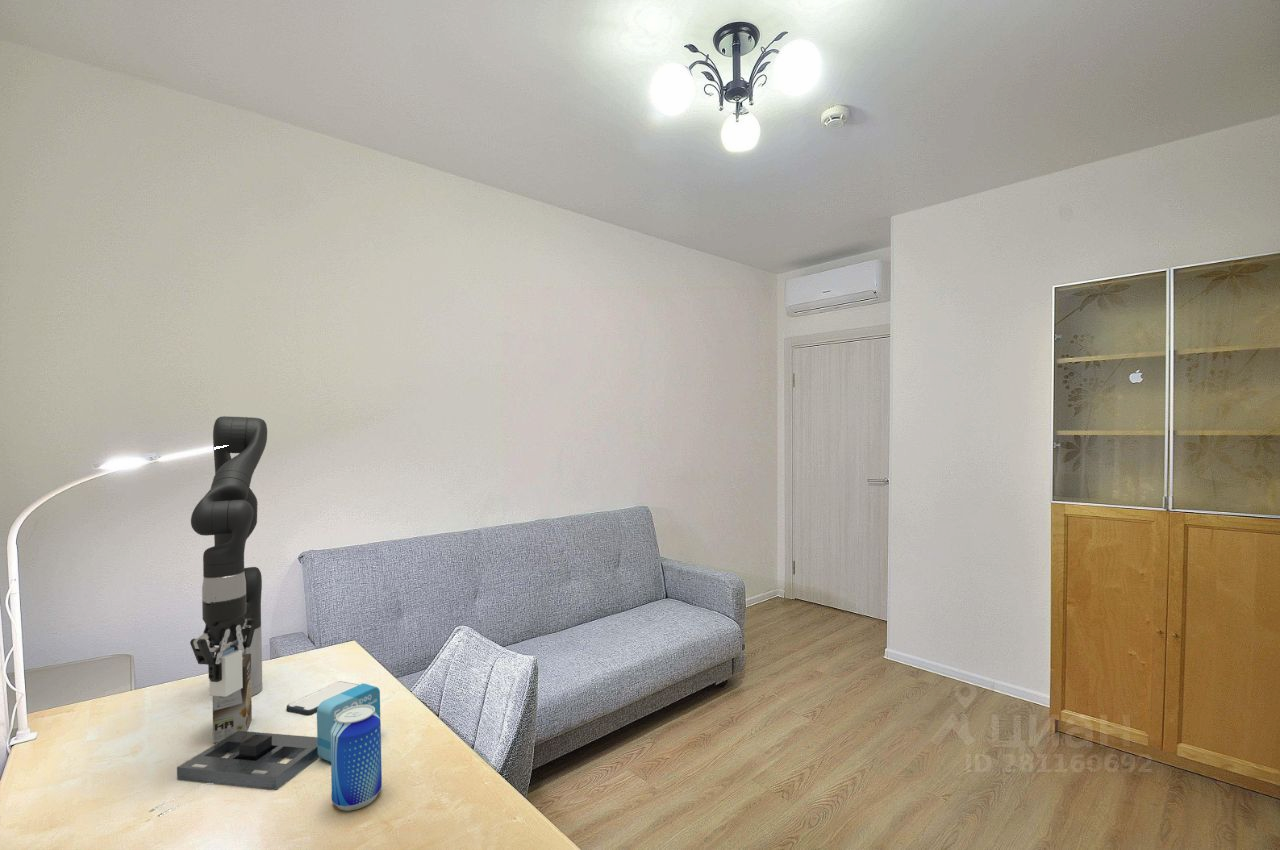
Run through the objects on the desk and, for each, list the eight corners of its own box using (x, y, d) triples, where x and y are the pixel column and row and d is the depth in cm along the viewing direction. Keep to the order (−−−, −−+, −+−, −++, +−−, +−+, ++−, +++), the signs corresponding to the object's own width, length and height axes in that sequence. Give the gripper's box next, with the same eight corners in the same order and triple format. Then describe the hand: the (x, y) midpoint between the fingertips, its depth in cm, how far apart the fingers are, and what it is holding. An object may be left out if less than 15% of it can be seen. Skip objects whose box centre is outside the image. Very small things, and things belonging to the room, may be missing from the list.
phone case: (338, 686, 157) (283, 712, 142) (338, 680, 157) (283, 705, 142) (362, 690, 154) (309, 718, 139) (362, 684, 154) (309, 711, 139)
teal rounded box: (330, 766, 117) (329, 708, 117) (317, 760, 119) (316, 703, 120) (381, 738, 128) (380, 684, 128) (368, 733, 130) (367, 680, 130)
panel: (177, 779, 114) (176, 754, 114) (238, 741, 128) (238, 719, 128) (276, 790, 110) (276, 764, 110) (328, 749, 124) (328, 726, 124)
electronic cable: (147, 812, 105) (147, 810, 105) (207, 782, 113) (207, 779, 113) (159, 818, 103) (159, 816, 103) (219, 787, 112) (219, 784, 112)
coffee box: (246, 736, 130) (245, 666, 130) (212, 744, 127) (211, 672, 127) (252, 718, 138) (251, 652, 138) (220, 725, 135) (219, 657, 135)
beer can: (369, 779, 112) (367, 698, 113) (390, 795, 107) (388, 710, 107) (324, 801, 106) (322, 715, 106) (344, 820, 101) (342, 729, 101)
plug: (209, 695, 119) (208, 653, 119) (226, 686, 123) (226, 645, 123) (225, 696, 118) (225, 654, 118) (242, 687, 122) (242, 646, 122)
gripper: (238, 585, 128) (240, 661, 128) (176, 604, 114) (178, 690, 114) (267, 586, 127) (268, 663, 127) (208, 606, 113) (209, 693, 113)
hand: (225, 676), depth 120 cm, fingers closed on plug, 4 cm apart
